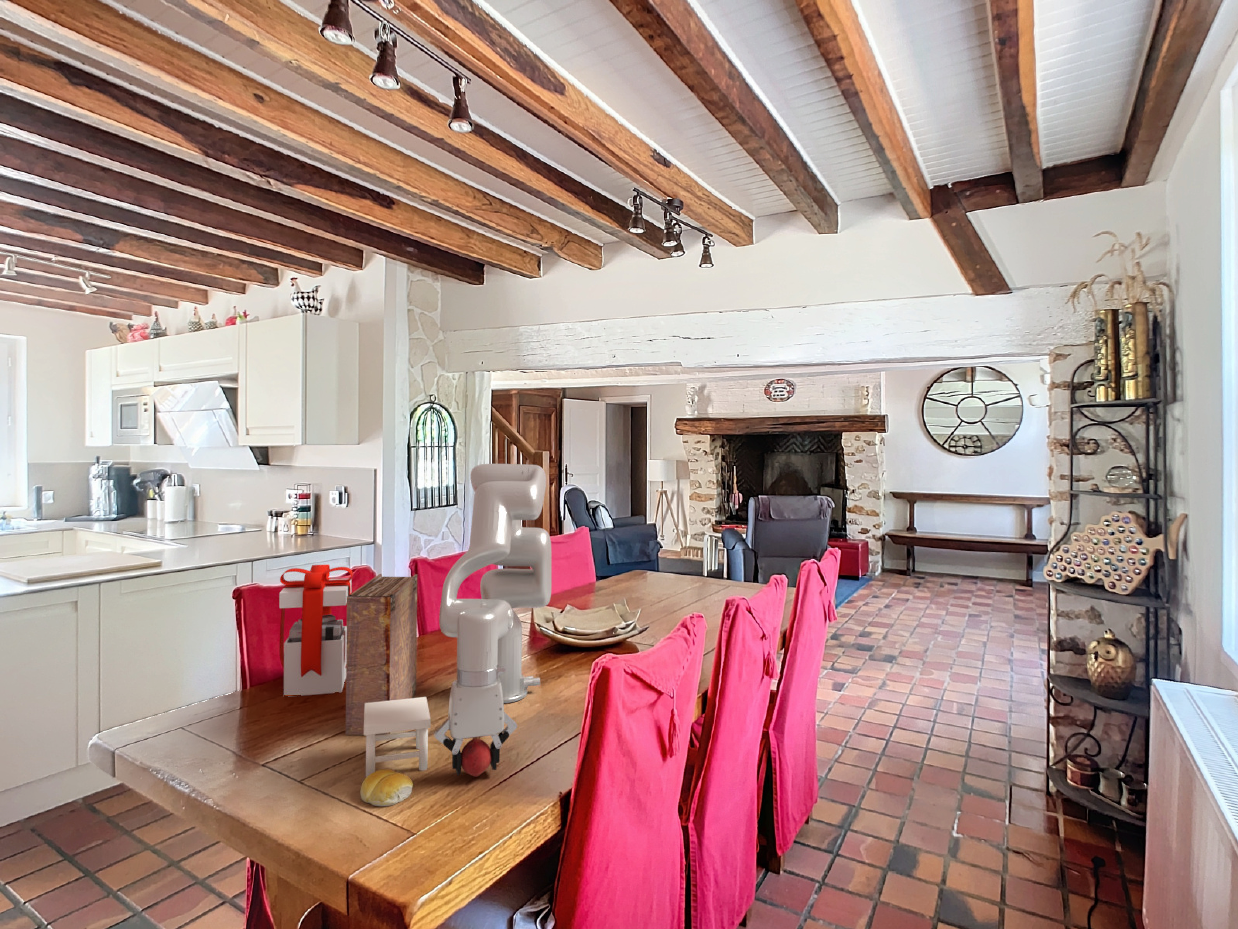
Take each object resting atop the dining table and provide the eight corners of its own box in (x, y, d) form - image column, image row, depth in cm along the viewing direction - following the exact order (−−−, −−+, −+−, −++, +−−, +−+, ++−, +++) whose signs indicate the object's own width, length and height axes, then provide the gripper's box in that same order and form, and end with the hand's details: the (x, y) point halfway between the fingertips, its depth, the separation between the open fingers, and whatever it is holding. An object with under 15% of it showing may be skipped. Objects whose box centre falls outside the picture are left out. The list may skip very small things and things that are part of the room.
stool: (425, 744, 143) (426, 696, 142) (429, 770, 131) (430, 719, 131) (364, 751, 138) (364, 703, 138) (363, 779, 127) (363, 727, 127)
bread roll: (387, 779, 128) (387, 758, 128) (420, 793, 123) (420, 771, 123) (349, 798, 121) (349, 776, 121) (382, 813, 116) (382, 790, 116)
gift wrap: (273, 700, 164) (273, 576, 163) (286, 676, 181) (286, 564, 180) (349, 694, 169) (350, 574, 168) (355, 671, 185) (356, 562, 184)
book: (379, 692, 171) (380, 573, 170) (416, 692, 172) (417, 573, 171) (345, 736, 146) (346, 596, 145) (389, 735, 146) (390, 596, 145)
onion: (476, 787, 125) (476, 744, 125) (453, 778, 128) (453, 737, 128) (497, 774, 130) (498, 733, 130) (475, 766, 133) (475, 726, 133)
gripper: (518, 664, 135) (517, 754, 136) (428, 673, 129) (427, 766, 130) (526, 677, 128) (524, 772, 129) (431, 686, 122) (430, 785, 123)
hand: (475, 768), depth 129 cm, fingers closed on onion, 5 cm apart
